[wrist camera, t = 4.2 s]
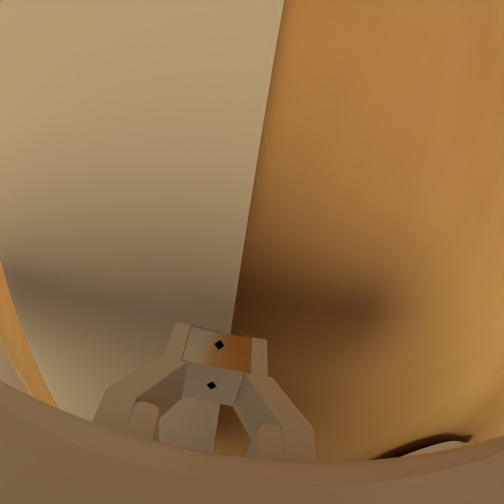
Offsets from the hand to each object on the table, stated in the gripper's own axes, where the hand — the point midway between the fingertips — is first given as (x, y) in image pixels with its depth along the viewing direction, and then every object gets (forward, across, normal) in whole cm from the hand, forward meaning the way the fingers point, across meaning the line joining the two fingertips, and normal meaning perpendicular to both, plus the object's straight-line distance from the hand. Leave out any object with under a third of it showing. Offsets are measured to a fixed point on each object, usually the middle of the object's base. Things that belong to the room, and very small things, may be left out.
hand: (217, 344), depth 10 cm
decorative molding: (+5, 0, 0) cm, 5 cm away
